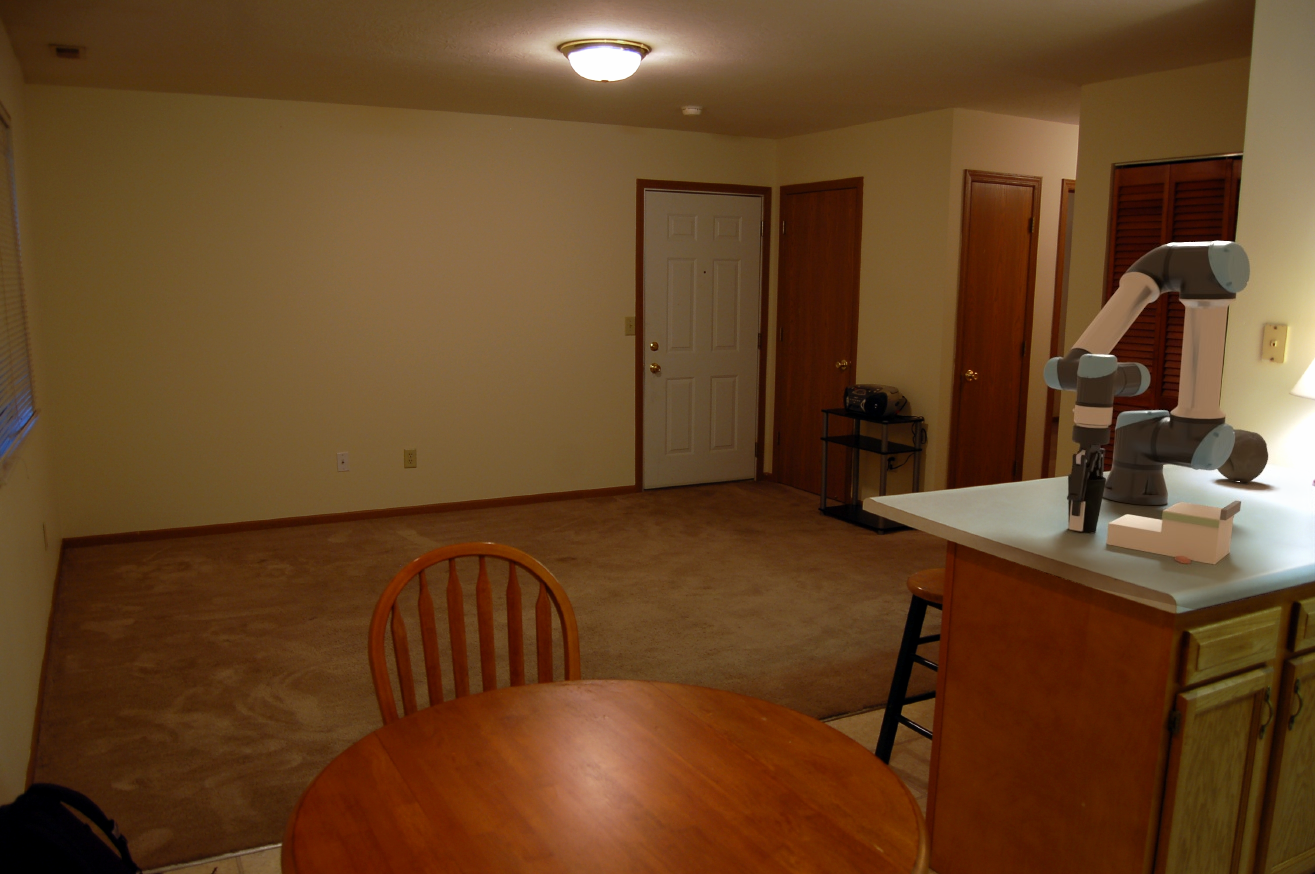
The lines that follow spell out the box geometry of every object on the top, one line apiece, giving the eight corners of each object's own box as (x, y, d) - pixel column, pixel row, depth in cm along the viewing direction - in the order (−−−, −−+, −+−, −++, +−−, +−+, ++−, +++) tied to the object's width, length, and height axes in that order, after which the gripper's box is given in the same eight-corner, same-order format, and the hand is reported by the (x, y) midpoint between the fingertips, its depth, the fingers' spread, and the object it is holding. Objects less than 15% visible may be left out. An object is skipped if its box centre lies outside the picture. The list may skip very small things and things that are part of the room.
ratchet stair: (1125, 533, 203) (1130, 484, 201) (1235, 553, 189) (1241, 500, 187) (1100, 547, 191) (1105, 495, 190) (1215, 569, 177) (1222, 513, 175)
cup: (1105, 535, 201) (1110, 481, 200) (1067, 532, 203) (1072, 479, 201) (1096, 526, 209) (1101, 474, 207) (1060, 524, 210) (1064, 472, 209)
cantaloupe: (1277, 486, 259) (1284, 434, 257) (1226, 485, 260) (1233, 432, 257) (1246, 477, 273) (1252, 426, 271) (1198, 475, 273) (1204, 425, 271)
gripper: (1090, 419, 212) (1081, 516, 216) (1056, 427, 197) (1047, 531, 201) (1125, 423, 207) (1115, 522, 211) (1093, 431, 192) (1083, 538, 196)
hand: (1082, 526), depth 206 cm, fingers closed on cup, 8 cm apart
